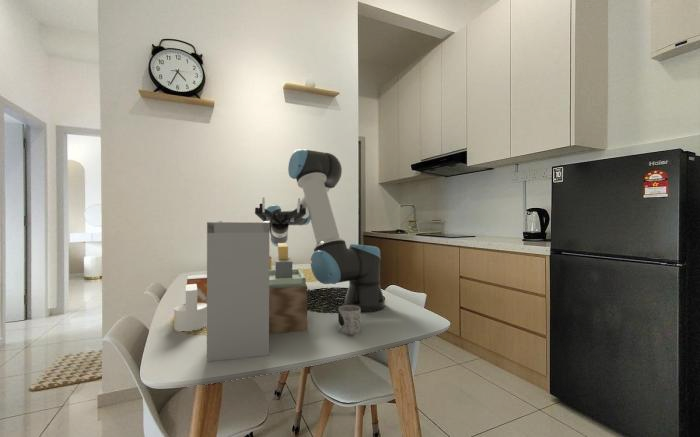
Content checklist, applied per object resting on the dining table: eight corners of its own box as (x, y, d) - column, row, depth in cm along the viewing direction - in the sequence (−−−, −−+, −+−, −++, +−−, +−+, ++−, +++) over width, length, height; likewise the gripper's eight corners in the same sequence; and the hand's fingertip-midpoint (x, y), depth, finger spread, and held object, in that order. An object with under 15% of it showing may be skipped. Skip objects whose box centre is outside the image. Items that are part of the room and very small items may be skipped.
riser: (301, 312, 108) (301, 275, 108) (307, 330, 91) (307, 286, 91) (262, 315, 104) (263, 277, 104) (261, 334, 88) (261, 289, 88)
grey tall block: (268, 335, 87) (269, 221, 87) (268, 355, 75) (269, 222, 75) (215, 340, 84) (216, 221, 83) (206, 361, 71) (207, 222, 71)
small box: (186, 318, 101) (186, 278, 101) (186, 312, 106) (187, 275, 106) (213, 314, 104) (213, 276, 104) (212, 309, 110) (212, 273, 110)
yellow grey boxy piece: (288, 270, 113) (288, 242, 112) (292, 281, 94) (292, 248, 94) (274, 270, 111) (274, 243, 111) (275, 281, 93) (275, 248, 93)
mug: (337, 326, 95) (337, 305, 95) (358, 326, 95) (359, 304, 95) (339, 339, 85) (340, 315, 85) (363, 339, 85) (363, 315, 85)
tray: (300, 275, 107) (300, 268, 107) (305, 286, 92) (305, 278, 92) (264, 277, 104) (264, 270, 104) (263, 288, 88) (263, 279, 88)
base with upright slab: (208, 328, 92) (208, 288, 92) (173, 334, 88) (173, 292, 88) (206, 319, 100) (206, 282, 100) (174, 323, 96) (174, 285, 96)
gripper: (308, 233, 138) (314, 209, 120) (250, 234, 132) (247, 208, 114) (307, 219, 142) (313, 193, 124) (250, 218, 135) (248, 191, 117)
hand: (281, 200), depth 119 cm, fingers open, 13 cm apart
